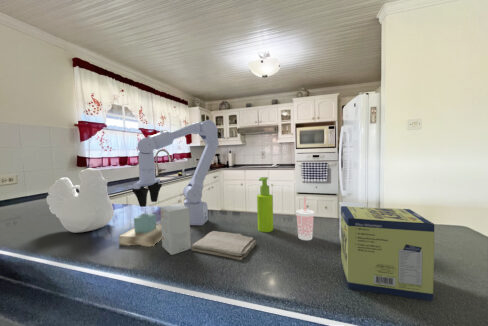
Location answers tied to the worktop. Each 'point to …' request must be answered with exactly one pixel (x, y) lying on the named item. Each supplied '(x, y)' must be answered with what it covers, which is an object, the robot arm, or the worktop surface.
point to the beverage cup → (305, 222)
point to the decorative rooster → (81, 202)
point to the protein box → (387, 251)
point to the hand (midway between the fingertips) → (148, 204)
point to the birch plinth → (141, 237)
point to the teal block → (145, 223)
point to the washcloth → (225, 244)
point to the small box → (175, 228)
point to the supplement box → (349, 206)
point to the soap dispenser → (265, 207)
